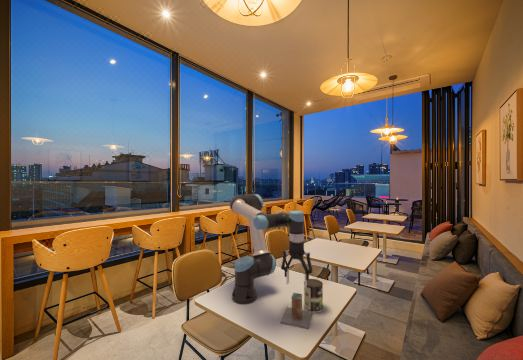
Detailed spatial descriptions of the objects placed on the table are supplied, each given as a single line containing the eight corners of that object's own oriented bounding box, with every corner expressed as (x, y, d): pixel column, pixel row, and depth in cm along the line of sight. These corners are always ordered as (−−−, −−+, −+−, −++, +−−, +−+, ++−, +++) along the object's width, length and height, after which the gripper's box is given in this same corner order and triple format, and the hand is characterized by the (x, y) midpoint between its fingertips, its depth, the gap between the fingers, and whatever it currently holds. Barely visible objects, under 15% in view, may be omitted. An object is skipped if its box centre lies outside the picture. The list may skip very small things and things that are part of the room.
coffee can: (325, 306, 130) (325, 281, 130) (319, 315, 122) (319, 288, 122) (308, 300, 136) (307, 277, 136) (301, 309, 127) (301, 283, 127)
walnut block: (291, 318, 118) (291, 296, 118) (293, 313, 122) (293, 292, 122) (300, 319, 116) (300, 298, 116) (301, 314, 121) (301, 293, 121)
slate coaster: (280, 323, 115) (280, 321, 115) (286, 308, 128) (286, 306, 128) (308, 329, 111) (308, 327, 111) (312, 313, 124) (312, 311, 124)
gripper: (274, 241, 119) (274, 284, 120) (316, 244, 112) (317, 291, 112) (278, 237, 126) (278, 278, 127) (318, 240, 119) (318, 284, 119)
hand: (296, 284), depth 119 cm, fingers open, 9 cm apart
